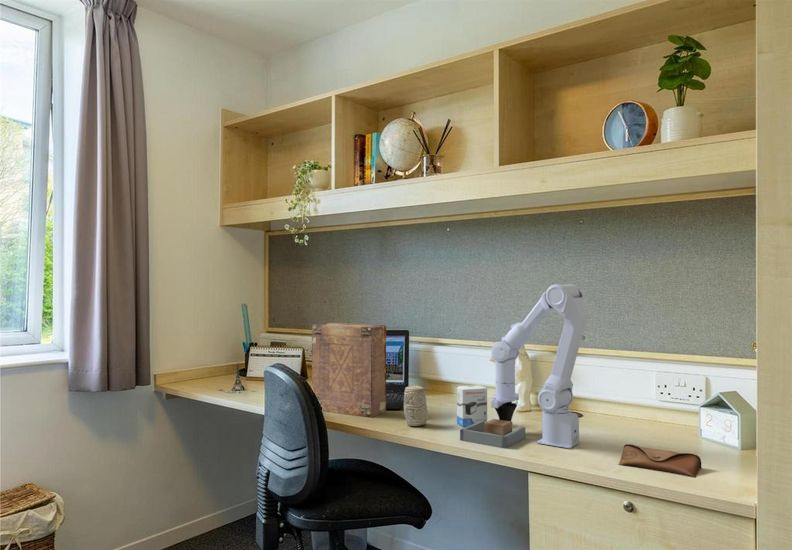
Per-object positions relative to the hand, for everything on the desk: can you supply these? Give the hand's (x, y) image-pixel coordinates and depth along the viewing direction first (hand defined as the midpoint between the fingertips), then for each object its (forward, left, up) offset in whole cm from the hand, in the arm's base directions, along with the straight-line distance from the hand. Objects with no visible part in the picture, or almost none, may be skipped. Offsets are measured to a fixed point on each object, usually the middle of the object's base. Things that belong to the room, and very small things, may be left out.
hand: (505, 428), depth 174 cm
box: (0, +8, -1) cm, 8 cm away
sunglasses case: (-44, +7, -2) cm, 45 cm away
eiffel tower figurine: (+121, +2, -2) cm, 121 cm away
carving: (+27, +8, -2) cm, 28 cm away
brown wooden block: (0, +4, -1) cm, 5 cm away
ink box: (+13, -3, -2) cm, 14 cm away
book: (+58, +4, -2) cm, 58 cm away
